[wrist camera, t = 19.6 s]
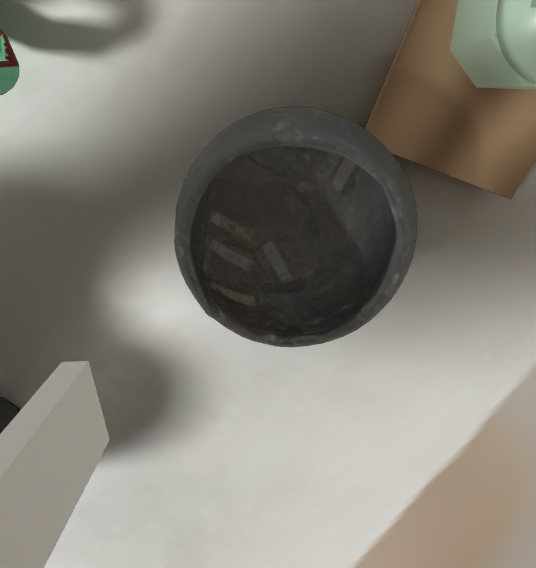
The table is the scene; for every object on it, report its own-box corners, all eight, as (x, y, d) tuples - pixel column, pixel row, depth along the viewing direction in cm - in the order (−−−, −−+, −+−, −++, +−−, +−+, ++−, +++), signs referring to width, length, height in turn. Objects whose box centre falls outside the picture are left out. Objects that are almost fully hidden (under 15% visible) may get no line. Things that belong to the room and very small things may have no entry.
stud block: (359, 139, 32) (375, 152, 25) (495, -181, 25) (569, -288, 18) (499, 193, 32) (552, 220, 26) (669, -103, 25) (805, -175, 19)
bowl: (357, 317, 37) (375, 390, 28) (184, 271, 37) (144, 330, 28) (426, 137, 31) (478, 155, 22) (221, 79, 31) (187, 73, 22)
